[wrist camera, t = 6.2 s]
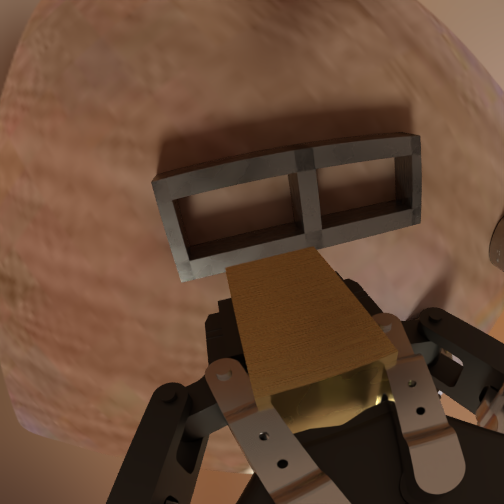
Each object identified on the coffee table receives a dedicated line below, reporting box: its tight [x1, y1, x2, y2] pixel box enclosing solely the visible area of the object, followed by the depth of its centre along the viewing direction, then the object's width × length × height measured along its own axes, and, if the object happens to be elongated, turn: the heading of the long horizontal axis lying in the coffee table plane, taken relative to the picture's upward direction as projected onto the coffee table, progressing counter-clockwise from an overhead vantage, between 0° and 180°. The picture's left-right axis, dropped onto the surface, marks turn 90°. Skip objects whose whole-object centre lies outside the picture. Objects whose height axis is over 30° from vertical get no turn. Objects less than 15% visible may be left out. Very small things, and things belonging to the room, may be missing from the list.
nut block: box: [225, 246, 398, 434], centre depth 11 cm, size 4×4×7 cm
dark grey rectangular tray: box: [151, 132, 422, 282], centre depth 26 cm, size 24×9×3 cm, turn 100°
